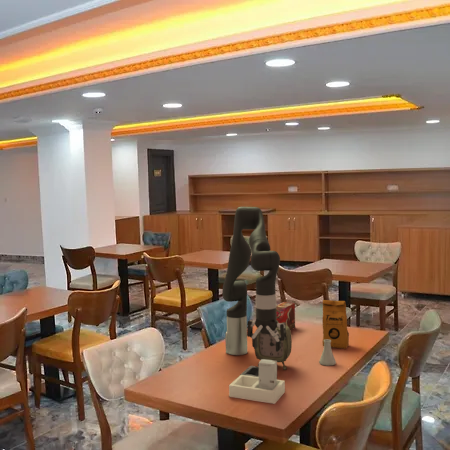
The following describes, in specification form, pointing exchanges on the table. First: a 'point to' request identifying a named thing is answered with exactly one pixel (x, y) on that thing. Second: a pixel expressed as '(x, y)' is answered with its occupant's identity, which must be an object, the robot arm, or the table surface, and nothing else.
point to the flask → (327, 354)
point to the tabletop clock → (274, 346)
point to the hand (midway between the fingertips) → (266, 349)
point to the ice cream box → (286, 314)
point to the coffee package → (335, 323)
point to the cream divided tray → (255, 390)
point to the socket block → (251, 371)
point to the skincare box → (267, 374)
